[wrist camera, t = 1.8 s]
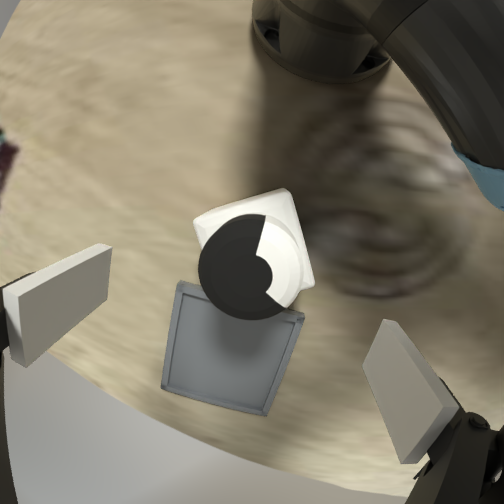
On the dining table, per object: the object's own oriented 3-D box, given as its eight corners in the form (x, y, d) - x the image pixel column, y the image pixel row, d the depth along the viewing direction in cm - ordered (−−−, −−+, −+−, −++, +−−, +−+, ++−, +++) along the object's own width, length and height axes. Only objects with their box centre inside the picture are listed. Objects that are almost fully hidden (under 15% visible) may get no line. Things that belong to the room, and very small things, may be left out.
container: (233, 281, 32) (210, 345, 20) (209, 209, 31) (168, 232, 18) (306, 261, 31) (327, 317, 19) (285, 186, 30) (295, 193, 17)
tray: (180, 280, 33) (177, 283, 32) (303, 313, 33) (304, 317, 32) (163, 383, 36) (160, 388, 35) (266, 410, 36) (266, 416, 35)
